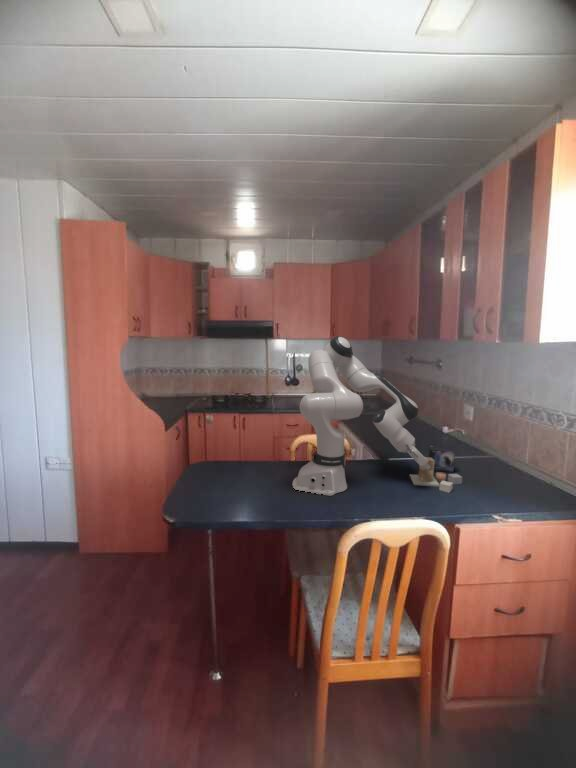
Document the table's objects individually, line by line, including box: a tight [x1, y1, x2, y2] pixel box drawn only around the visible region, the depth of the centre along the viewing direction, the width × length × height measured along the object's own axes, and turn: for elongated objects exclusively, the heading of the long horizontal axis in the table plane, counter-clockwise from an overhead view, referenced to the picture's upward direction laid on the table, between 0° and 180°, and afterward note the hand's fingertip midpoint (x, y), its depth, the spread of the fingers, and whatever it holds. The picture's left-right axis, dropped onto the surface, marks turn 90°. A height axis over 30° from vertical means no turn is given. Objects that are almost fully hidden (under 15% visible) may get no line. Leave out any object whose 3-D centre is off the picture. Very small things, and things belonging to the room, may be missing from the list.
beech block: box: [417, 456, 435, 482], centre depth 156 cm, size 4×4×9 cm
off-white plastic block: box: [438, 480, 454, 493], centre depth 148 cm, size 4×4×3 cm
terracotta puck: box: [435, 471, 447, 483], centre depth 158 cm, size 4×4×3 cm
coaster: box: [409, 473, 440, 487], centre depth 157 cm, size 10×10×1 cm
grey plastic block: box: [447, 473, 463, 485], centre depth 156 cm, size 4×4×3 cm
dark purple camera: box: [428, 445, 456, 474], centre depth 169 cm, size 11×6×10 cm, turn 76°
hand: (426, 465), depth 156 cm, fingers open, 6 cm apart
